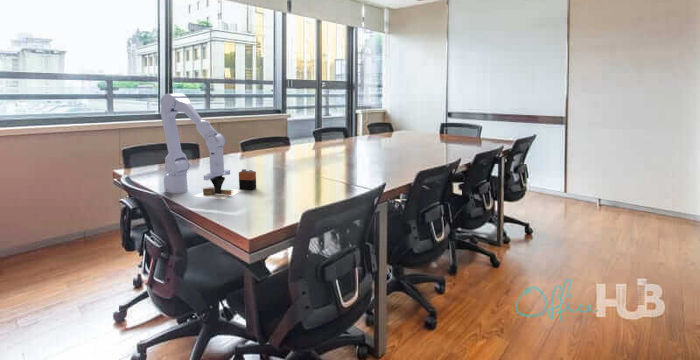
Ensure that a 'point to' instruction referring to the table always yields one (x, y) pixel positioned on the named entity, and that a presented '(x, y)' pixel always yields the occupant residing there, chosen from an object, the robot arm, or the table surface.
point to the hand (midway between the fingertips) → (218, 193)
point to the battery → (247, 180)
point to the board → (220, 196)
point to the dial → (212, 191)
